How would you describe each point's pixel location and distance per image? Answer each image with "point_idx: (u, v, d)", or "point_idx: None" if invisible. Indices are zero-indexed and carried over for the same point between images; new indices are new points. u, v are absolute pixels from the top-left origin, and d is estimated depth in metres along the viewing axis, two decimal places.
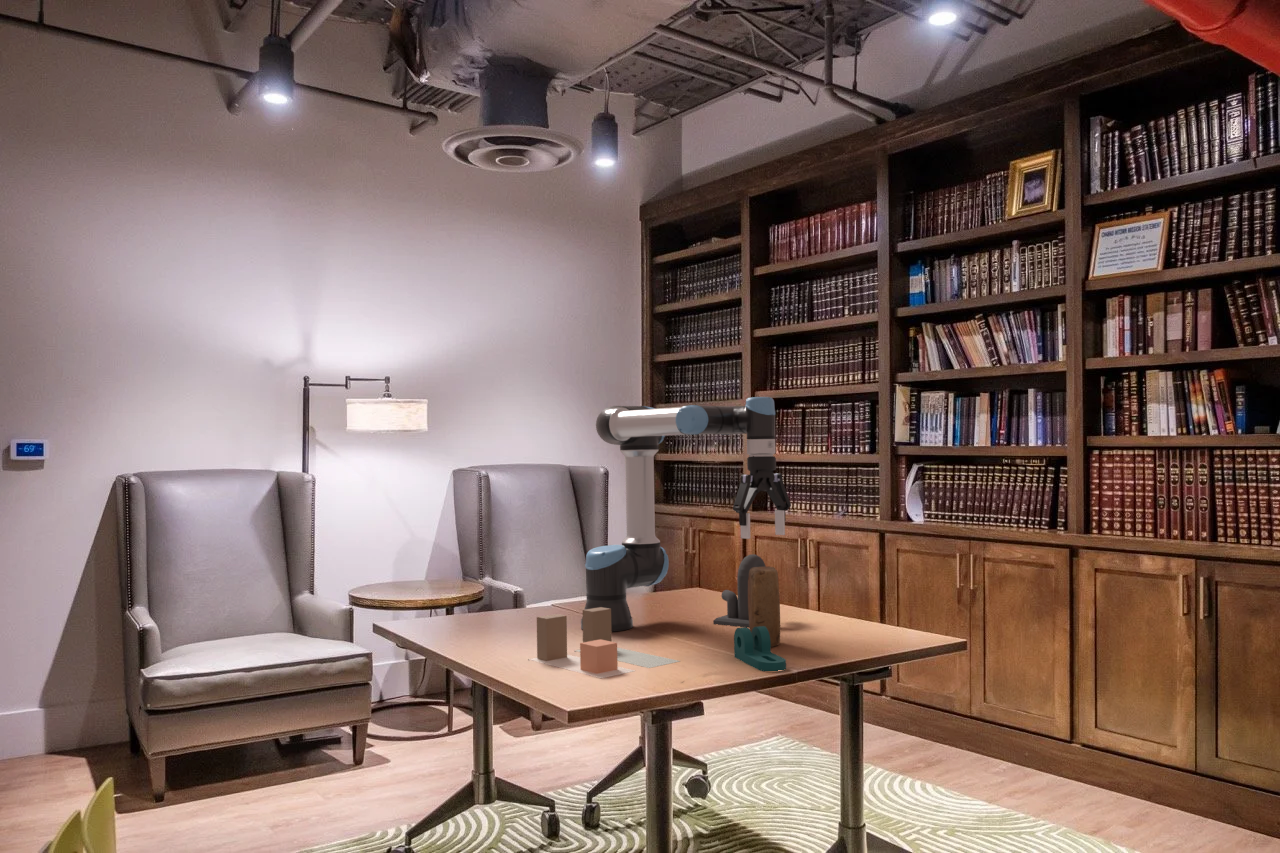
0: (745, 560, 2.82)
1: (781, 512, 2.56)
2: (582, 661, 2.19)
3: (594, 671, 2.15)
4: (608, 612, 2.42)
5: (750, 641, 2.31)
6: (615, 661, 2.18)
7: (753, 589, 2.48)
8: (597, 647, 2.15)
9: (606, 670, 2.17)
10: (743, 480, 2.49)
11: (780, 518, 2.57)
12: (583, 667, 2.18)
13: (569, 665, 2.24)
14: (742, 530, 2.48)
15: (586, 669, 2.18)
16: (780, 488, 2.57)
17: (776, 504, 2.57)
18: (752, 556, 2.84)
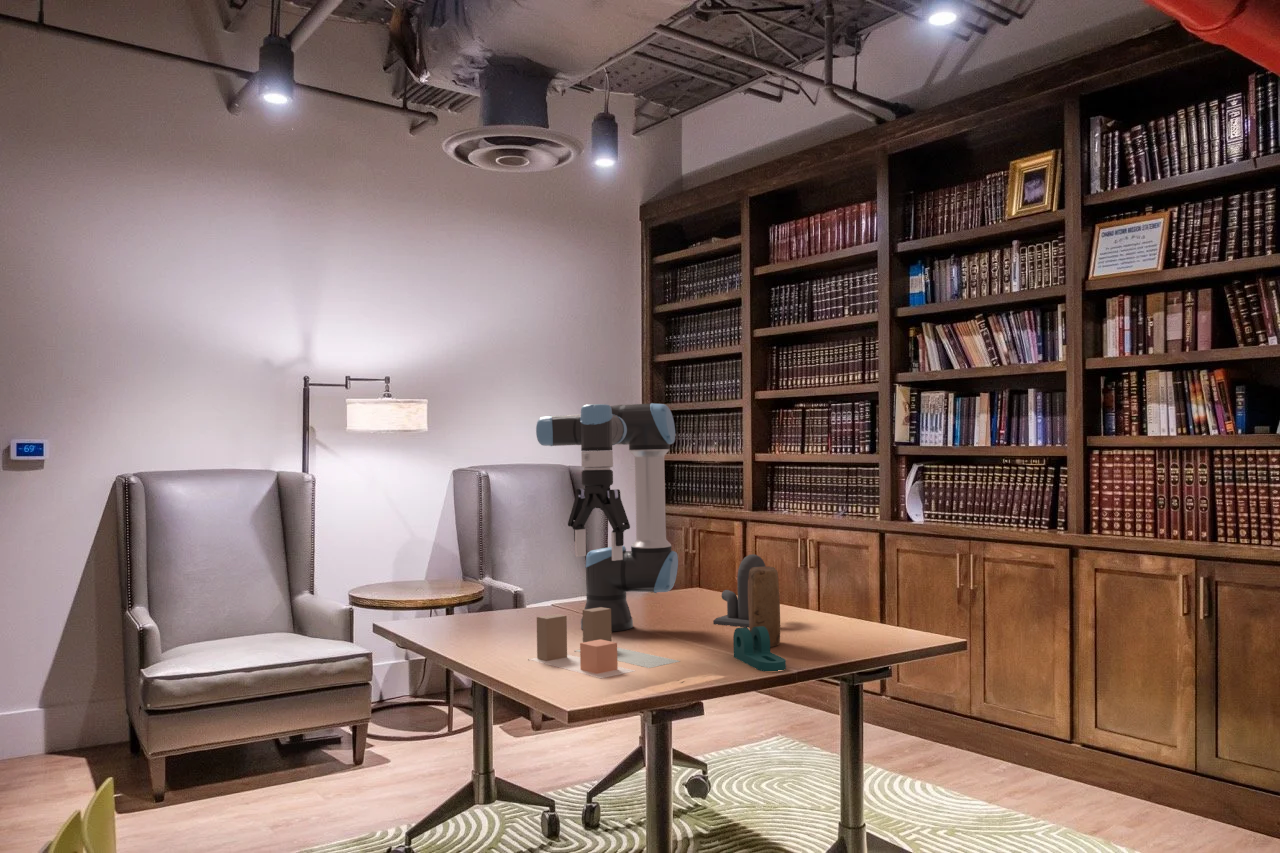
0: (745, 560, 2.82)
1: None
2: (582, 661, 2.19)
3: (594, 671, 2.15)
4: (608, 612, 2.42)
5: (750, 641, 2.30)
6: (615, 661, 2.18)
7: (753, 589, 2.48)
8: (597, 647, 2.15)
9: (606, 670, 2.17)
10: None
11: None
12: (583, 667, 2.18)
13: (569, 665, 2.24)
14: None
15: (586, 669, 2.18)
16: None
17: None
18: (752, 556, 2.84)
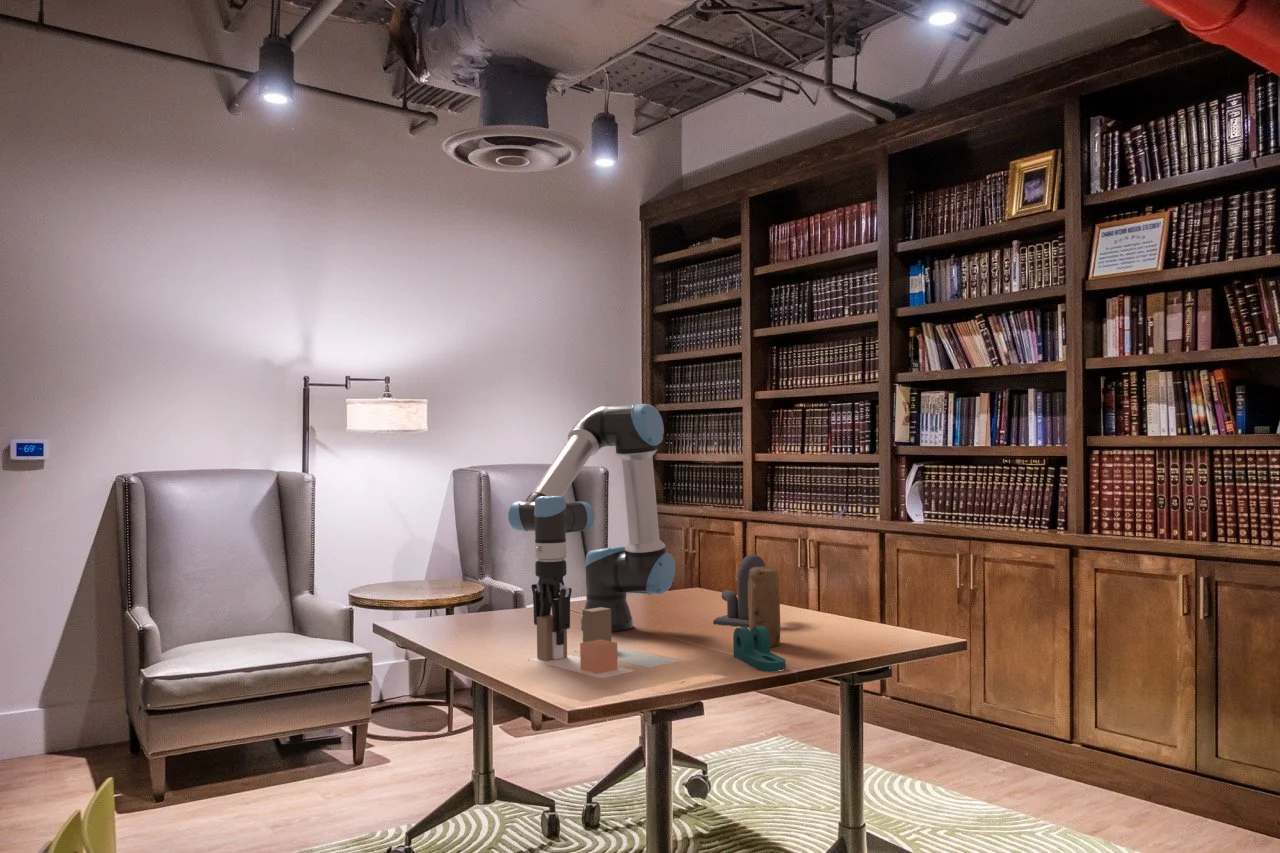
0: (745, 560, 2.82)
1: None
2: (582, 661, 2.19)
3: (594, 671, 2.15)
4: (608, 612, 2.42)
5: (749, 641, 2.31)
6: (615, 661, 2.18)
7: (753, 589, 2.48)
8: (597, 647, 2.15)
9: (606, 670, 2.17)
10: None
11: None
12: (583, 667, 2.18)
13: (569, 665, 2.24)
14: None
15: (586, 669, 2.18)
16: None
17: None
18: (752, 556, 2.84)
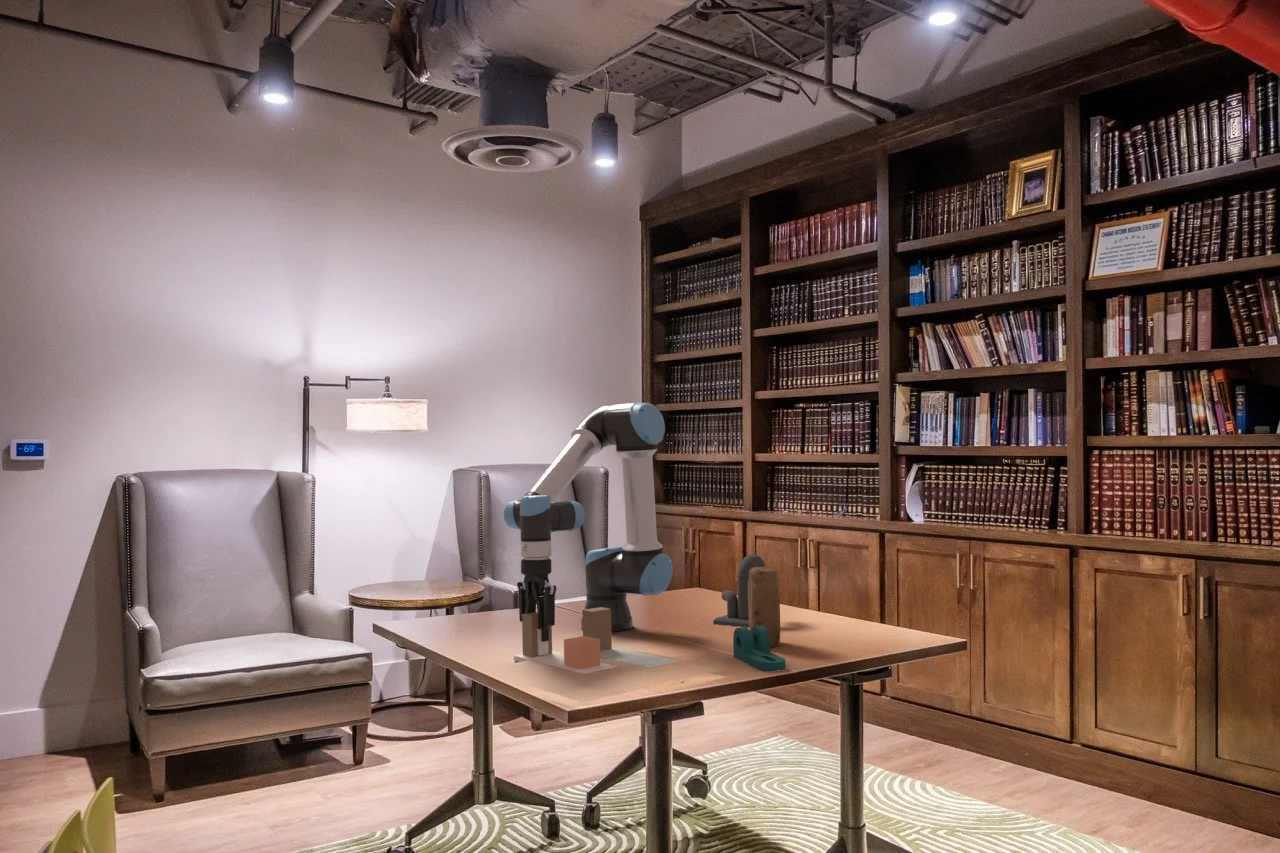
0: (745, 560, 2.82)
1: None
2: (566, 657, 2.23)
3: (577, 667, 2.20)
4: (608, 612, 2.42)
5: (749, 641, 2.31)
6: (598, 657, 2.23)
7: (753, 589, 2.48)
8: (580, 643, 2.20)
9: (589, 666, 2.21)
10: None
11: None
12: (567, 663, 2.23)
13: (553, 661, 2.28)
14: None
15: (569, 665, 2.22)
16: None
17: None
18: (752, 556, 2.84)
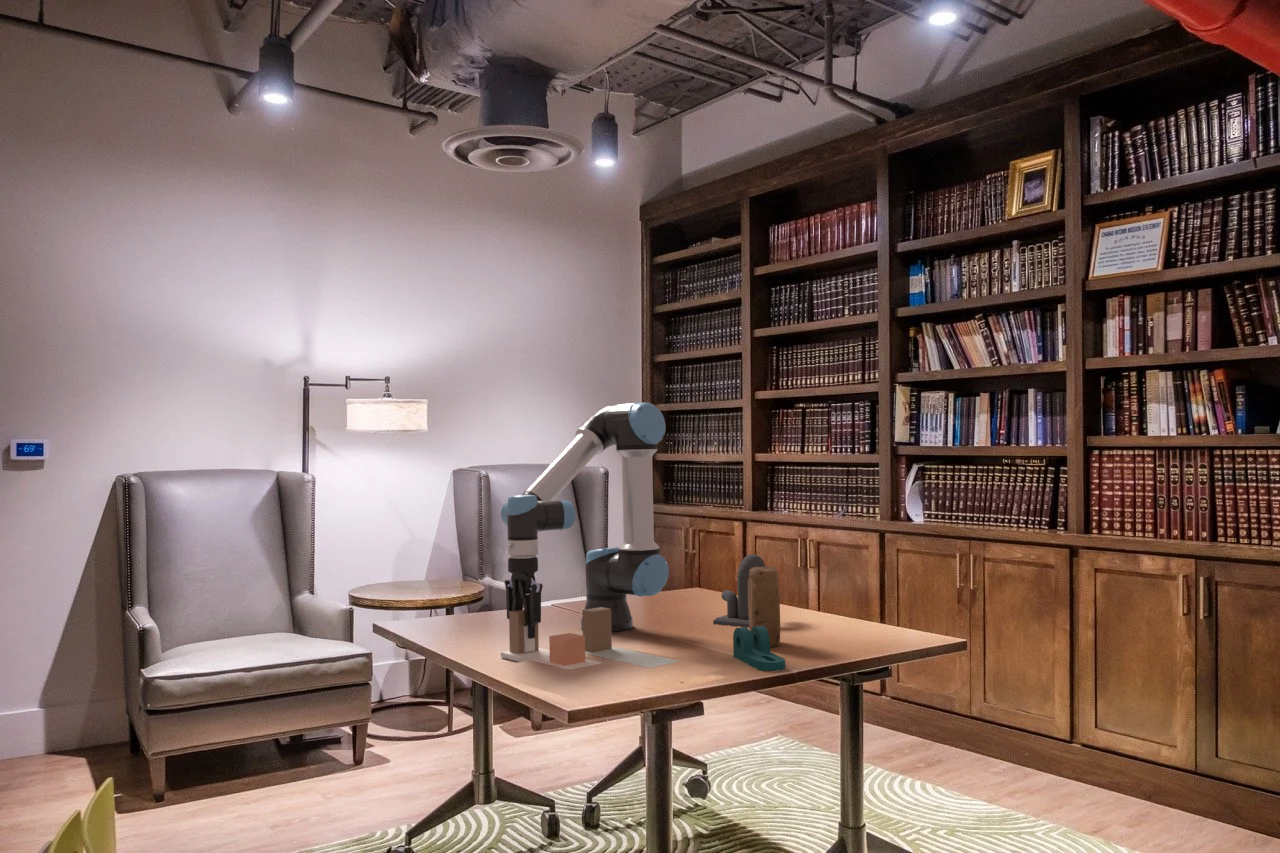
0: (745, 560, 2.82)
1: None
2: (551, 653, 2.28)
3: (562, 663, 2.24)
4: (608, 612, 2.42)
5: (749, 641, 2.31)
6: (583, 653, 2.27)
7: (753, 589, 2.48)
8: (565, 640, 2.24)
9: (574, 662, 2.26)
10: None
11: None
12: (552, 659, 2.27)
13: (539, 658, 2.33)
14: None
15: (555, 661, 2.27)
16: None
17: None
18: (752, 556, 2.84)
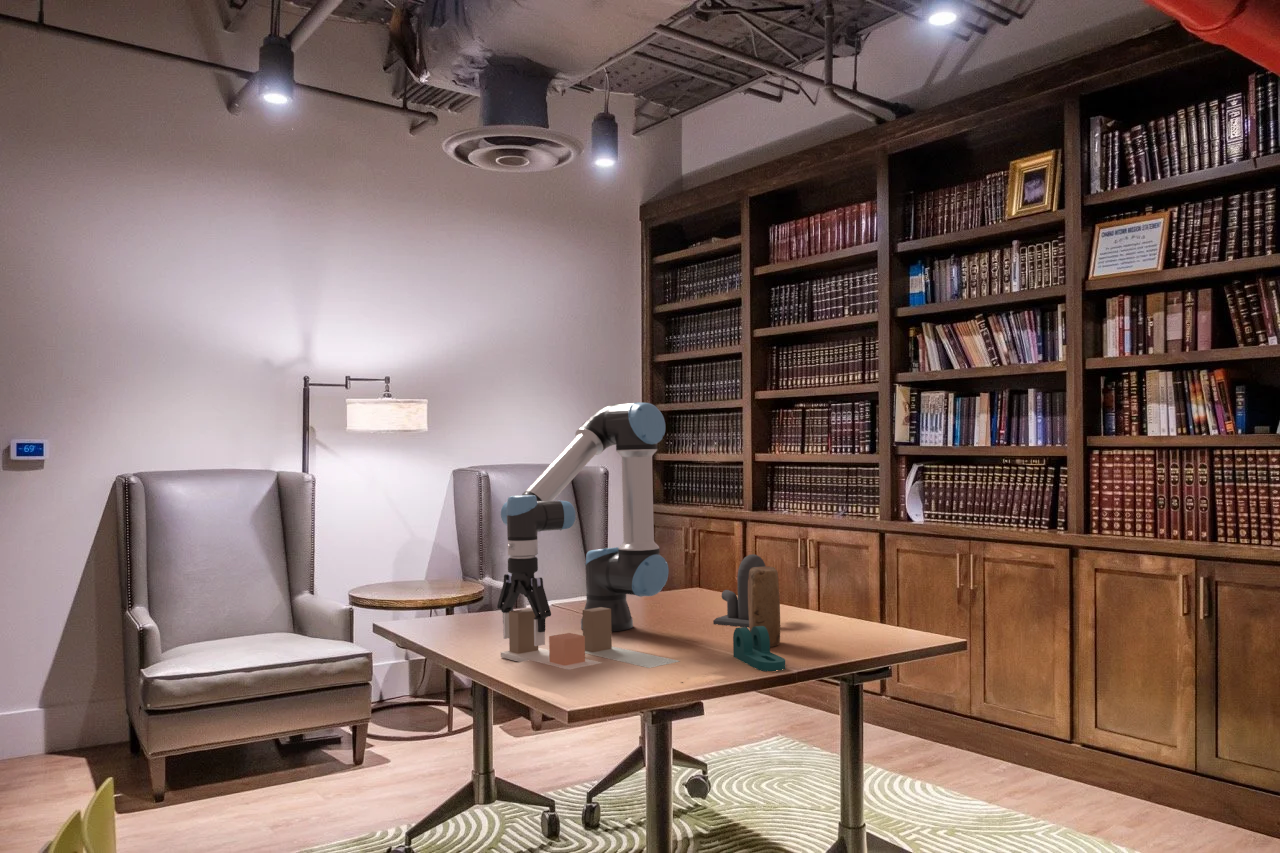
0: (745, 560, 2.82)
1: None
2: (551, 653, 2.28)
3: (562, 663, 2.25)
4: (608, 612, 2.42)
5: (749, 641, 2.31)
6: (582, 653, 2.27)
7: (753, 589, 2.48)
8: (565, 640, 2.24)
9: (574, 662, 2.26)
10: None
11: None
12: (552, 659, 2.27)
13: (539, 657, 2.33)
14: None
15: (555, 661, 2.27)
16: None
17: None
18: (752, 556, 2.84)
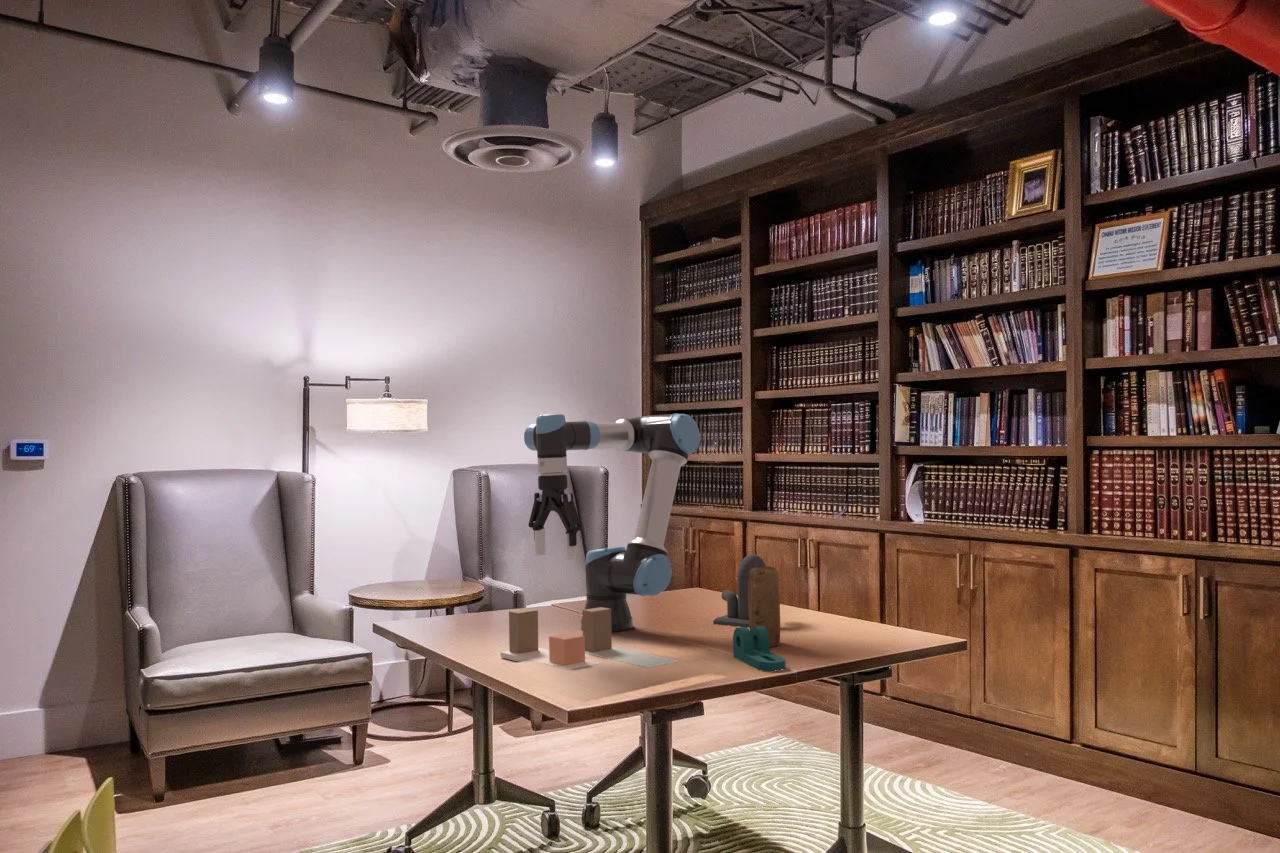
0: (745, 560, 2.82)
1: None
2: (551, 653, 2.28)
3: (562, 663, 2.25)
4: (608, 612, 2.42)
5: (749, 641, 2.31)
6: (582, 653, 2.27)
7: (753, 589, 2.48)
8: (565, 640, 2.24)
9: (574, 662, 2.26)
10: None
11: None
12: (552, 659, 2.27)
13: (539, 657, 2.33)
14: None
15: (555, 661, 2.27)
16: None
17: None
18: (752, 556, 2.84)
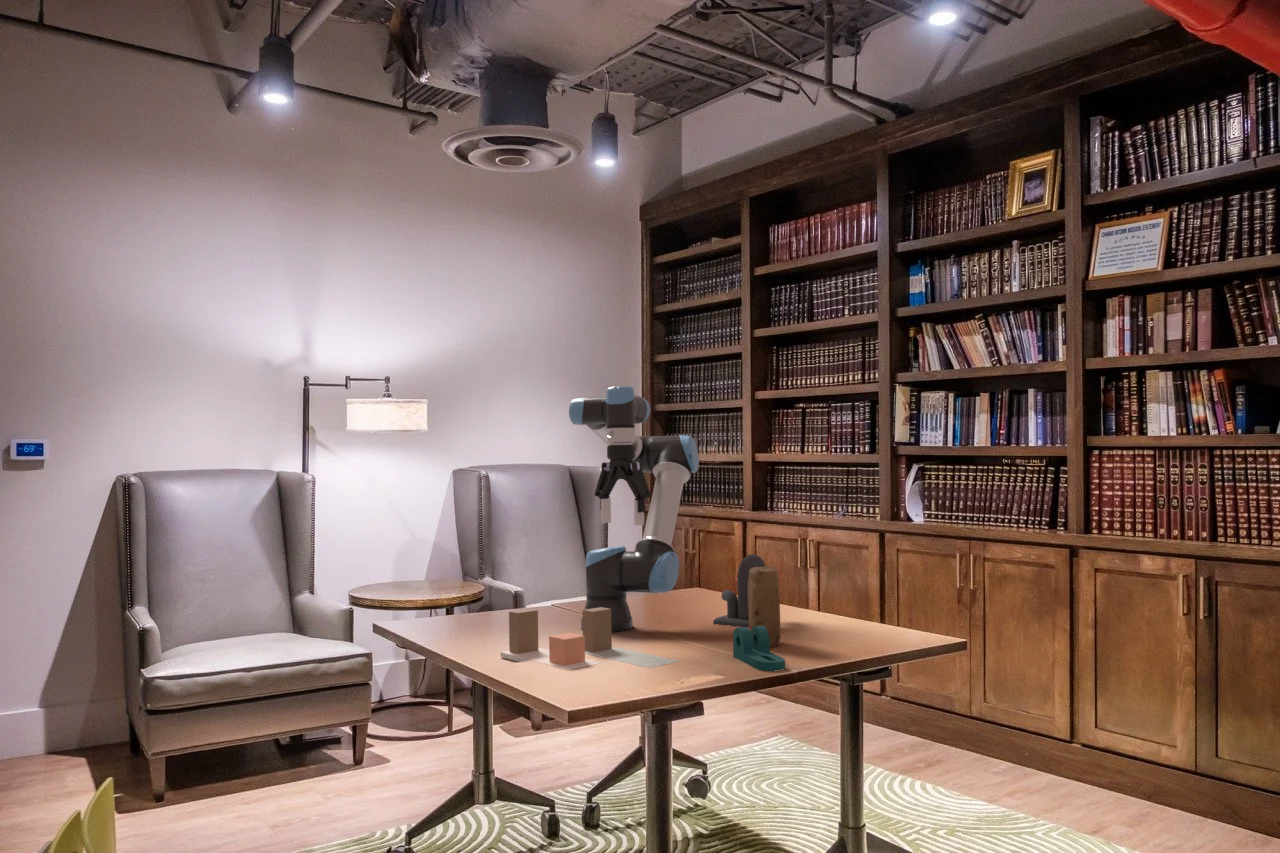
0: (745, 560, 2.82)
1: None
2: (551, 653, 2.28)
3: (562, 663, 2.25)
4: (608, 612, 2.42)
5: (749, 641, 2.31)
6: (582, 653, 2.27)
7: (753, 589, 2.48)
8: (565, 640, 2.24)
9: (574, 662, 2.26)
10: None
11: None
12: (552, 659, 2.27)
13: (539, 657, 2.33)
14: None
15: (555, 661, 2.27)
16: None
17: None
18: (752, 556, 2.84)
